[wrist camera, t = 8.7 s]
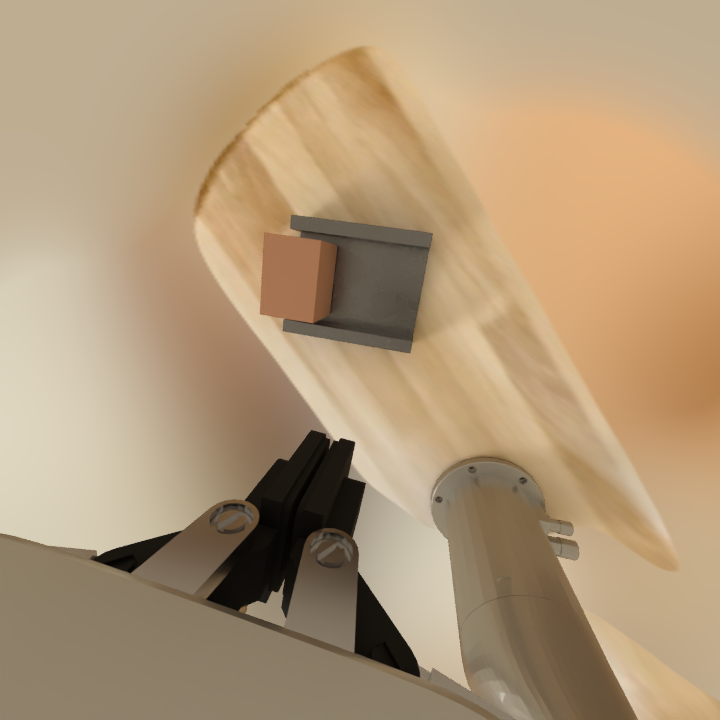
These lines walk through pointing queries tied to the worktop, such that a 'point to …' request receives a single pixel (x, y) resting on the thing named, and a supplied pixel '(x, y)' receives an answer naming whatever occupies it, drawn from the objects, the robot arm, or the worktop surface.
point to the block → (297, 277)
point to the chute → (368, 283)
